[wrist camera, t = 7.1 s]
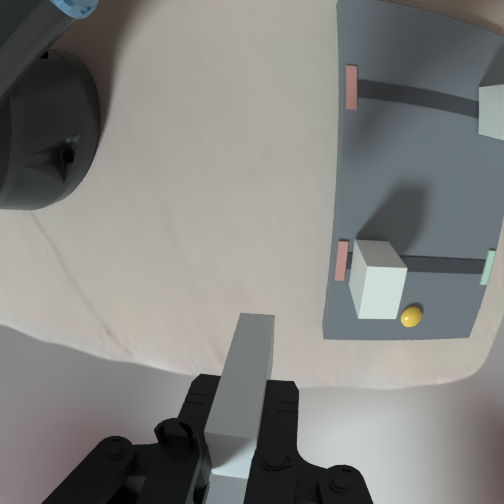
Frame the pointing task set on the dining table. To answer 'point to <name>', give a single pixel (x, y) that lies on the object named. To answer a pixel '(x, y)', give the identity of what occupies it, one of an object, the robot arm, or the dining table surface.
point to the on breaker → (491, 111)
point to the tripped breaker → (376, 279)
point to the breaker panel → (415, 167)
